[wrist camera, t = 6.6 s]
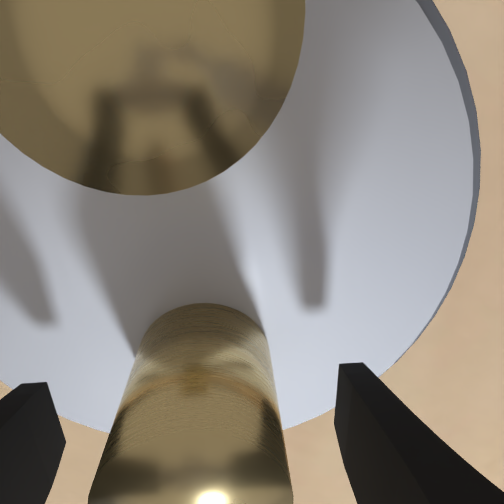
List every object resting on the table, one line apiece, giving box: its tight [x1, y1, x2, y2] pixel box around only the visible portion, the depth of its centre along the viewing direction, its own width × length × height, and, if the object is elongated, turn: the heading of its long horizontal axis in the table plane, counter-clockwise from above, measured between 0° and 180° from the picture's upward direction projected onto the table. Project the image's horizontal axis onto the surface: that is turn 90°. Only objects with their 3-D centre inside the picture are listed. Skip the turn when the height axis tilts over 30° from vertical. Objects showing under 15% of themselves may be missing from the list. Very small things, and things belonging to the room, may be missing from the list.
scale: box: [0, 0, 481, 433], centre depth 10 cm, size 16×18×3 cm
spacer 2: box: [88, 303, 293, 504], centre depth 9 cm, size 4×4×4 cm
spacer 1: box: [0, 0, 306, 196], centre depth 6 cm, size 4×4×4 cm
